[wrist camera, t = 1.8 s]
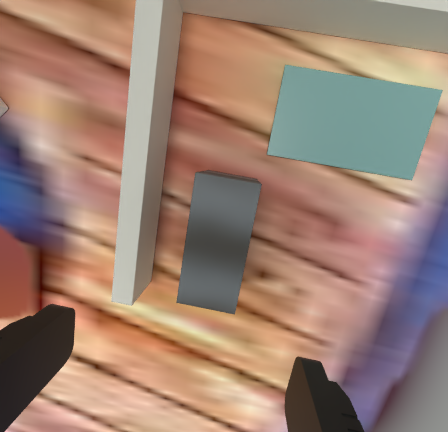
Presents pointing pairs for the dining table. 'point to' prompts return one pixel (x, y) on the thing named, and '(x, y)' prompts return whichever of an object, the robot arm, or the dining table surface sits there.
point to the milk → (2, 107)
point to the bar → (217, 240)
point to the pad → (352, 121)
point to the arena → (165, 80)
